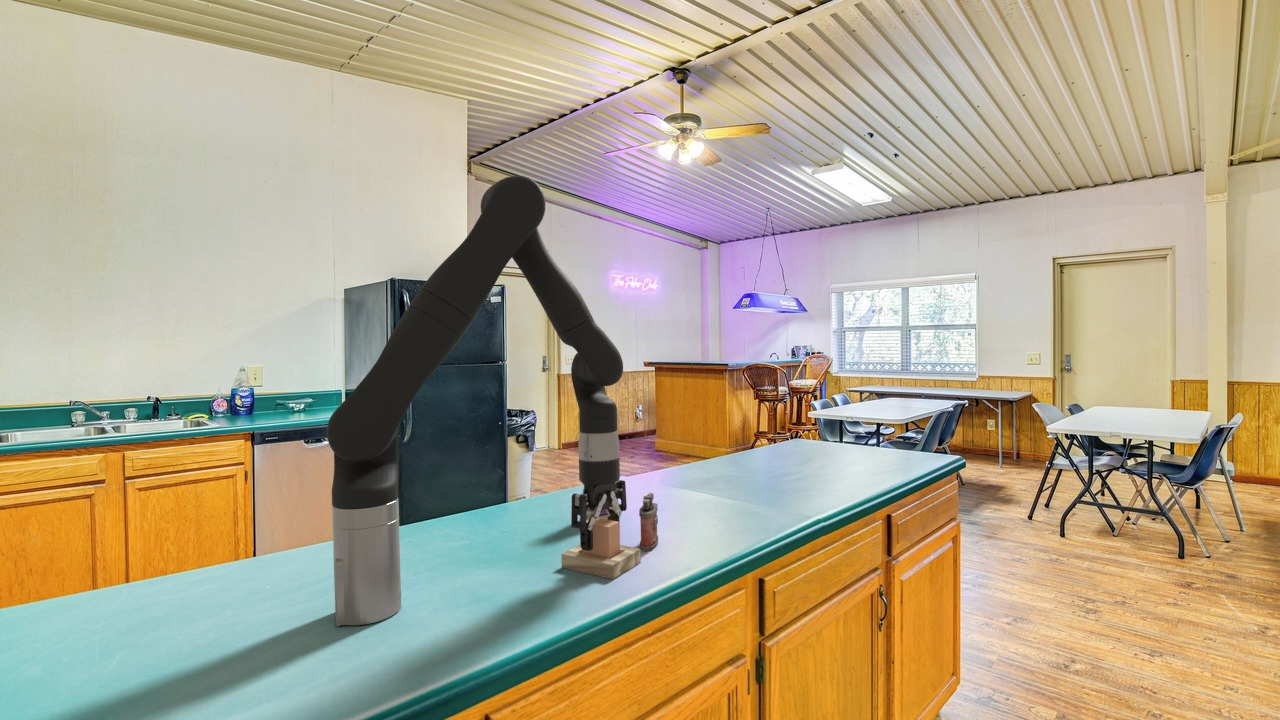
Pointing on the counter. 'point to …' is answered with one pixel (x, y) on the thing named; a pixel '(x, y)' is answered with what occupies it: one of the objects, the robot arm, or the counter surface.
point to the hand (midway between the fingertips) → (601, 542)
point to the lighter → (648, 523)
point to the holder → (601, 562)
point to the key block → (605, 539)
